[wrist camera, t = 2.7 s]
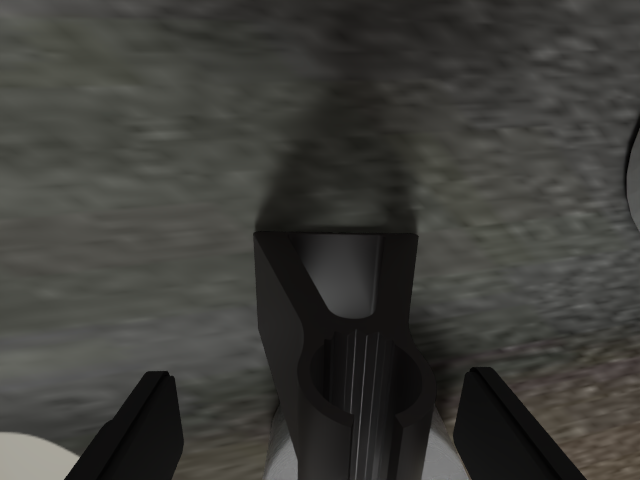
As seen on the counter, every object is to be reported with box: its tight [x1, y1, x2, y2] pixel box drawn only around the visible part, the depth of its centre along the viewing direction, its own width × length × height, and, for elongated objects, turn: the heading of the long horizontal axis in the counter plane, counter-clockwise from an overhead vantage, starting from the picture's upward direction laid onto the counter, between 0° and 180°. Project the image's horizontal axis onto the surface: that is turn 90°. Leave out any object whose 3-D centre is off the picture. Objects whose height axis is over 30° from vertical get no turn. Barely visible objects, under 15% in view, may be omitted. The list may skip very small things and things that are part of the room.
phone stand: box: [253, 231, 437, 480], centre depth 12 cm, size 9×6×12 cm, turn 88°
